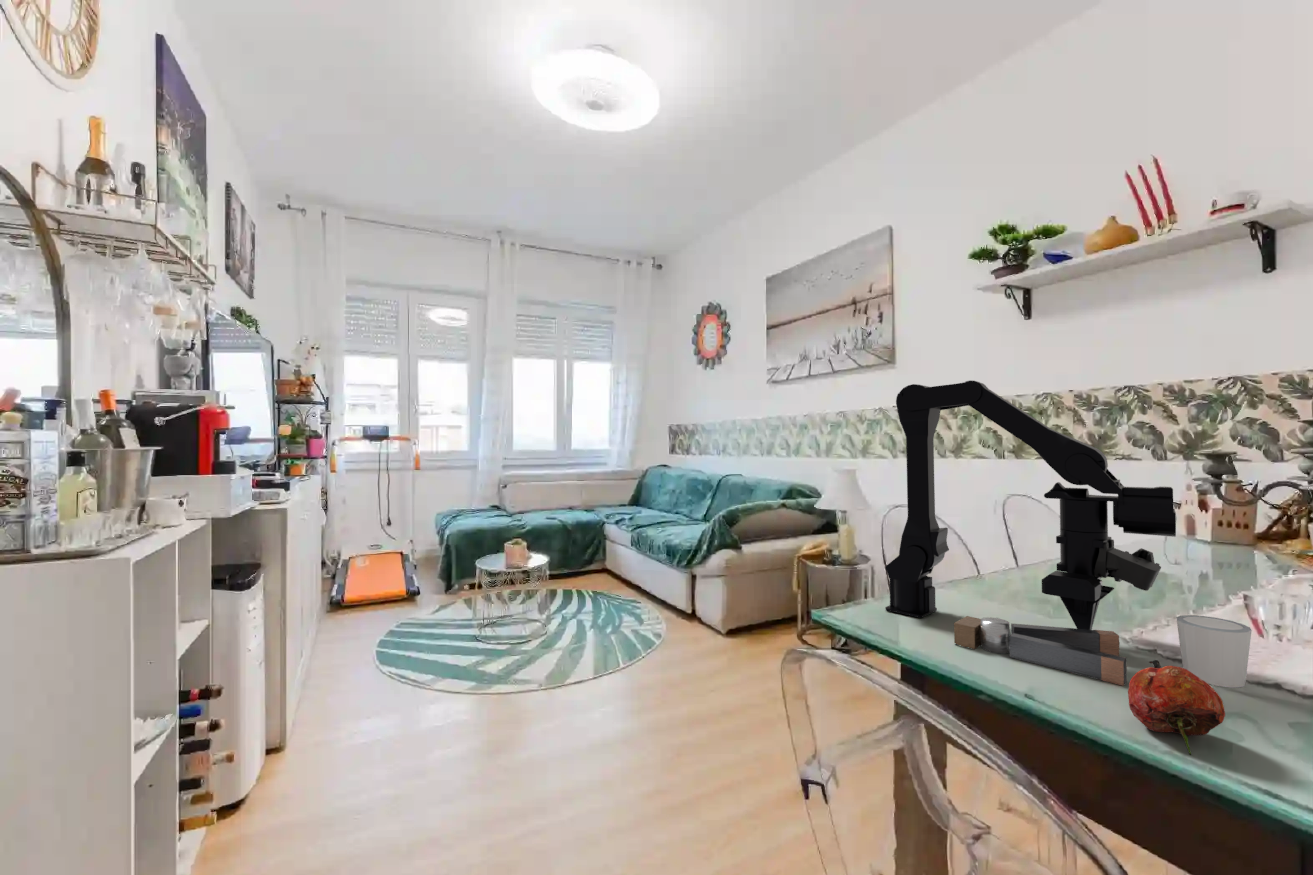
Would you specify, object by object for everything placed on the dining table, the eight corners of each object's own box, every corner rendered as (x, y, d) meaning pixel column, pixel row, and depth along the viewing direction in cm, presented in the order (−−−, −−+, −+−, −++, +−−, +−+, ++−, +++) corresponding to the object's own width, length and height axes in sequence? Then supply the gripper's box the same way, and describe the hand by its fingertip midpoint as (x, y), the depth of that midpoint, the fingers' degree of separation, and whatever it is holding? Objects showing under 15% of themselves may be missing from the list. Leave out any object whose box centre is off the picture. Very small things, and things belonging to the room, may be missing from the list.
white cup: (1187, 683, 71) (1186, 626, 71) (1169, 663, 77) (1168, 611, 77) (1263, 693, 68) (1262, 634, 68) (1238, 672, 74) (1237, 618, 74)
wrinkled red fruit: (1239, 780, 55) (1209, 685, 62) (1242, 738, 52) (1210, 643, 59) (1139, 765, 59) (1121, 677, 66) (1136, 725, 56) (1117, 637, 63)
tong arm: (1014, 647, 83) (1014, 626, 83) (1011, 643, 84) (1010, 623, 84) (1119, 657, 79) (1119, 635, 79) (1113, 652, 80) (1113, 631, 80)
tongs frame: (954, 644, 85) (954, 617, 85) (967, 636, 88) (966, 610, 88) (1123, 686, 70) (1122, 653, 70) (1131, 675, 73) (1130, 644, 73)
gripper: (1141, 545, 73) (1143, 667, 73) (1166, 528, 85) (1167, 633, 85) (1039, 535, 82) (1041, 645, 82) (1075, 521, 94) (1077, 616, 94)
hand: (1085, 634), depth 85 cm, fingers closed
